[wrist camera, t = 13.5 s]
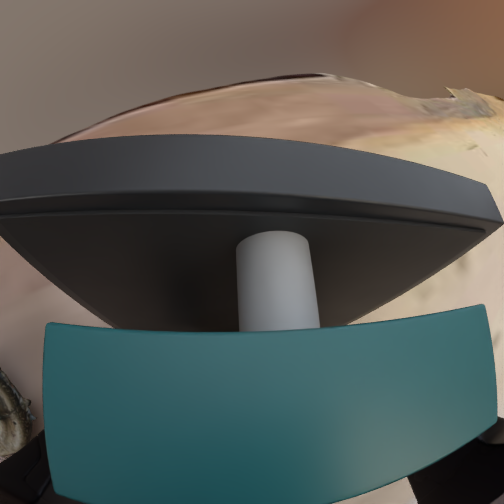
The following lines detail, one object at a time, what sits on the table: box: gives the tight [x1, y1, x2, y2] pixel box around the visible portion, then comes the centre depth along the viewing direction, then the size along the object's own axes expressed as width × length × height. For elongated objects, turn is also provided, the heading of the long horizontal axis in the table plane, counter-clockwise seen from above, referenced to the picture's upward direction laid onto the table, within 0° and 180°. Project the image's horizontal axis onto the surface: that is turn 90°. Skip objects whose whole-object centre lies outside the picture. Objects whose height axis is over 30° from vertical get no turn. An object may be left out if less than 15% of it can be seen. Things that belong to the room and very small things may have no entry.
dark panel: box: [0, 134, 504, 332], centre depth 12 cm, size 13×14×14 cm
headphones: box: [43, 304, 497, 504], centre depth 8 cm, size 4×7×13 cm, turn 93°
